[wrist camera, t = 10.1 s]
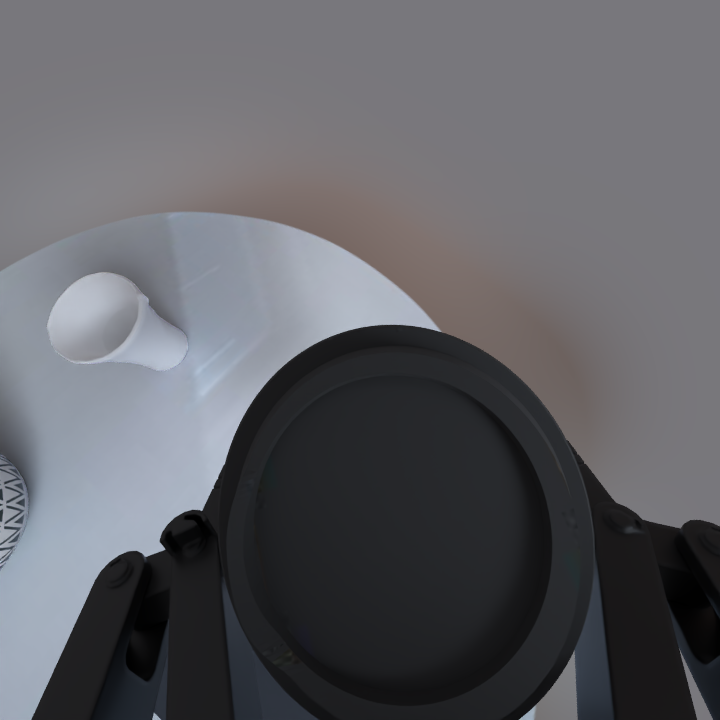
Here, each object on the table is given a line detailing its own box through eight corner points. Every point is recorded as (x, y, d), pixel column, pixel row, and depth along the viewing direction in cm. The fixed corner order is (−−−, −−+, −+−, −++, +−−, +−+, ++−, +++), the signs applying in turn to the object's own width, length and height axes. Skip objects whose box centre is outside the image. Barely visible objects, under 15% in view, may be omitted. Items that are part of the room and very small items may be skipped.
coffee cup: (432, 375, 21) (535, 242, 7) (483, 514, 19) (804, 769, 4) (305, 414, 21) (134, 366, 7) (340, 558, 19) (199, 950, 4)
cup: (213, 366, 36) (150, 340, 27) (137, 393, 36) (46, 378, 27) (197, 300, 39) (134, 254, 29) (125, 326, 38) (38, 289, 29)
